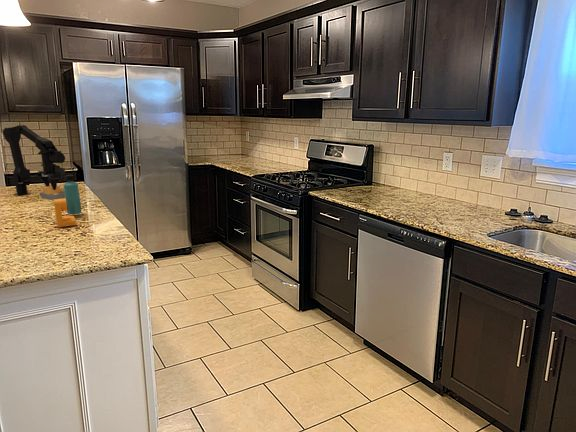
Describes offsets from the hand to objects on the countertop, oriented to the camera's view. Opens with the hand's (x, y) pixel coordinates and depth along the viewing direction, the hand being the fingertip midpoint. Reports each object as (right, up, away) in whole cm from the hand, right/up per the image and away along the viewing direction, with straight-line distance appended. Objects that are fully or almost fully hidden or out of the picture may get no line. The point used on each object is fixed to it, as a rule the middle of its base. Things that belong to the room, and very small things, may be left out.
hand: (51, 189), depth 247 cm
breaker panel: (+1, -4, +3) cm, 5 cm away
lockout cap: (0, -2, +1) cm, 2 cm away
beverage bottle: (+34, -16, -41) cm, 56 cm away
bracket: (+38, -20, -56) cm, 71 cm away
